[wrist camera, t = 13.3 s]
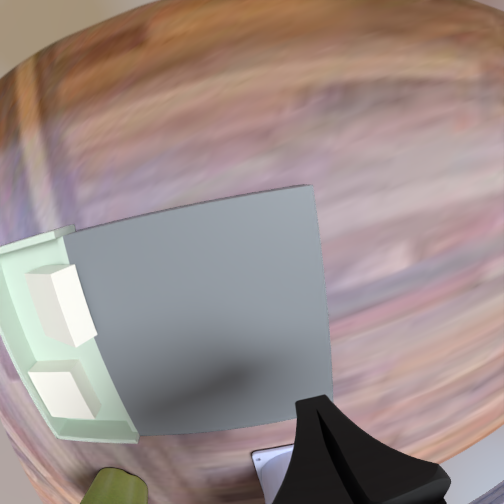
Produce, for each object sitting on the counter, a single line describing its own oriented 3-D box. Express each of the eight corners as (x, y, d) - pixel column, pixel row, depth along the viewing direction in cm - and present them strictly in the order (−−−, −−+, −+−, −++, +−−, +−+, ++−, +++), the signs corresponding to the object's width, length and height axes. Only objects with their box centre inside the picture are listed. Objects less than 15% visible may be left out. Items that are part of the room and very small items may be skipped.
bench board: (325, 391, 24) (333, 409, 22) (145, 417, 24) (139, 435, 21) (303, 184, 20) (312, 184, 18) (78, 229, 20) (62, 236, 17)
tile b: (97, 334, 19) (76, 347, 17) (64, 325, 21) (45, 335, 19) (74, 264, 18) (50, 274, 16) (44, 265, 20) (24, 273, 18)
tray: (144, 421, 24) (137, 443, 21) (67, 419, 24) (56, 438, 21) (74, 224, 20) (53, 230, 17) (-4, 247, 20) (-26, 255, 17)
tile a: (52, 416, 21) (60, 404, 23) (94, 419, 21) (101, 405, 23) (27, 372, 20) (37, 360, 22) (70, 371, 20) (79, 359, 22)
